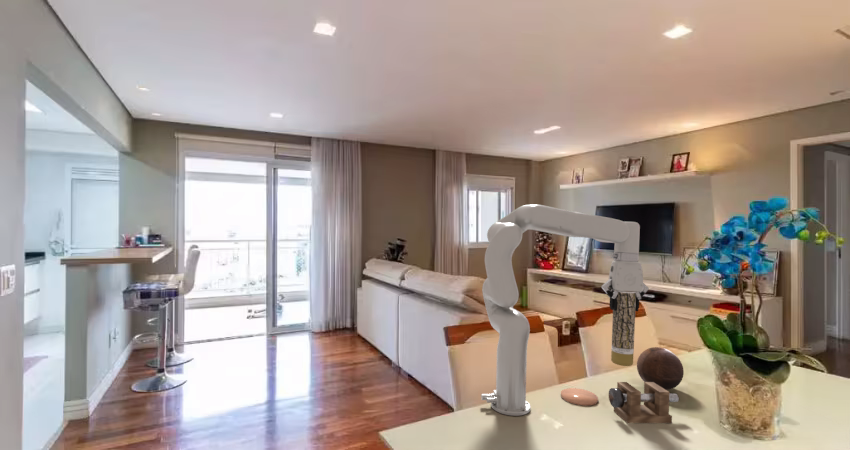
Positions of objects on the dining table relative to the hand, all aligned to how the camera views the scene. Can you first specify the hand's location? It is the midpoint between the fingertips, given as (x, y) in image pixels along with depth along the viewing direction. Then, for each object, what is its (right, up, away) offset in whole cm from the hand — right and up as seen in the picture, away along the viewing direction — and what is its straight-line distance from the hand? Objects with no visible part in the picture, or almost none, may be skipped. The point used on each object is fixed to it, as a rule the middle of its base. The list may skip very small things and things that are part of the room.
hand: (624, 309), depth 140 cm
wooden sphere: (+19, -32, +12) cm, 39 cm away
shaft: (+1, -28, -11) cm, 30 cm away
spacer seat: (-14, -31, +2) cm, 34 cm away
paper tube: (-1, -19, 0) cm, 19 cm away
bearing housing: (0, -31, -11) cm, 33 cm away
